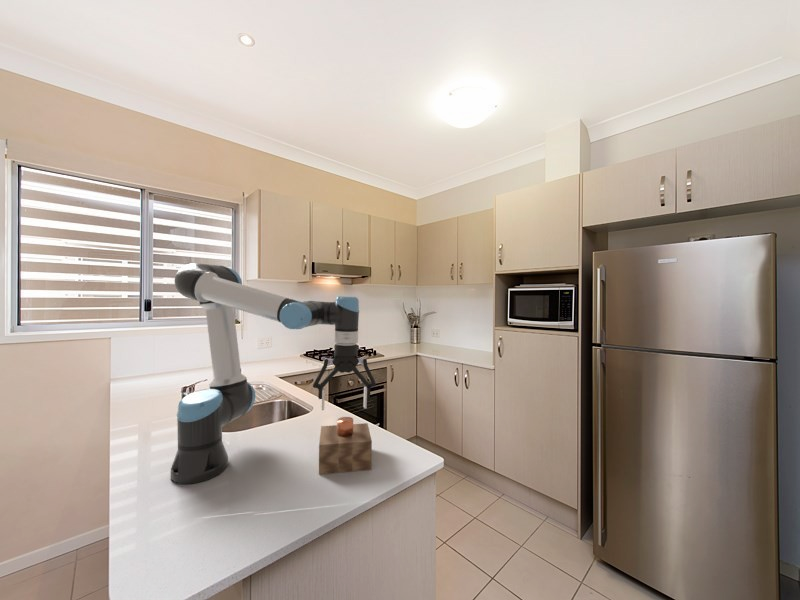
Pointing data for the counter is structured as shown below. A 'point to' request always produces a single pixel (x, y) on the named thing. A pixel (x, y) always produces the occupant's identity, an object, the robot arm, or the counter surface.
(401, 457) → the counter surface
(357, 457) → the hitch block
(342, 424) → the copper cylinder with shaft
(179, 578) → the counter surface
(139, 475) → the counter surface
